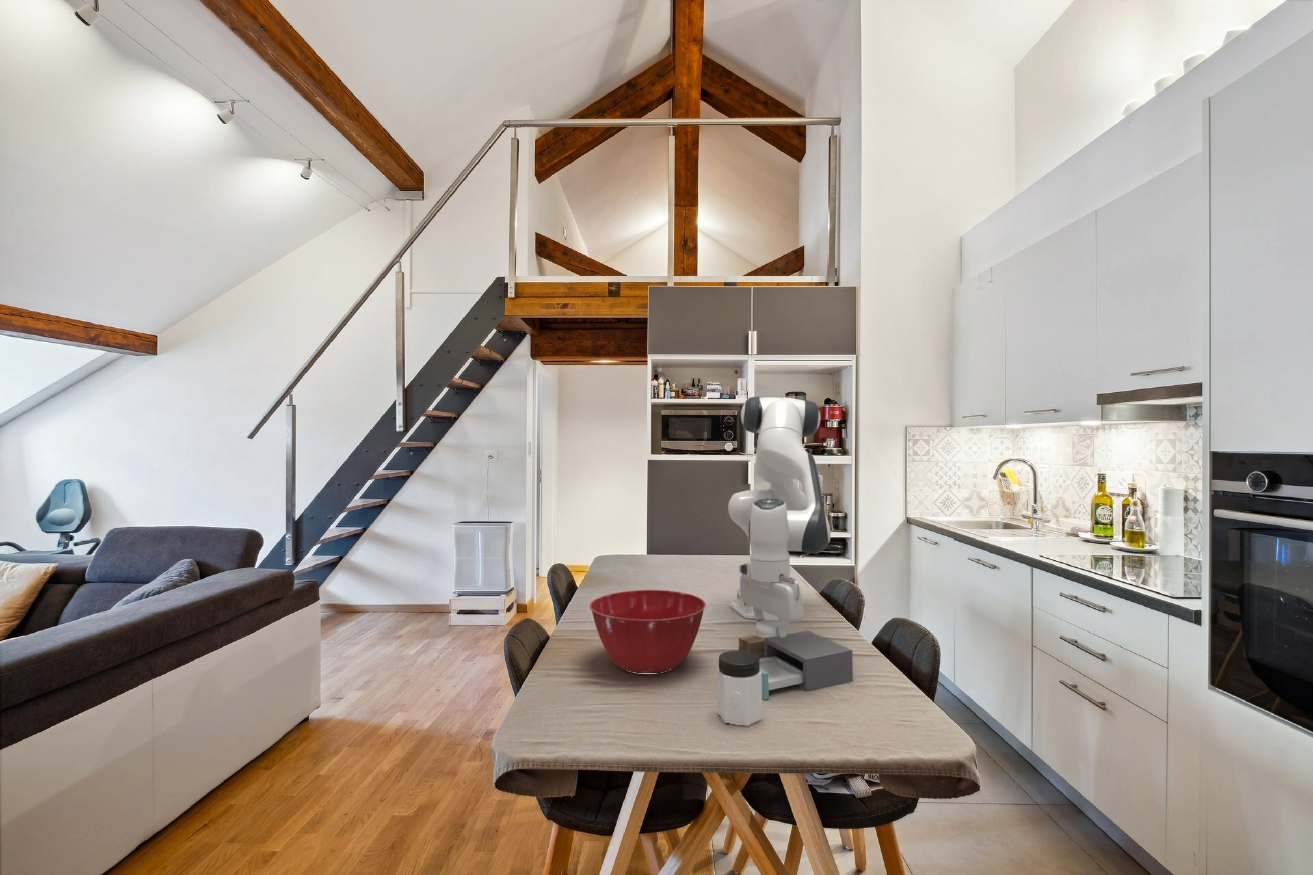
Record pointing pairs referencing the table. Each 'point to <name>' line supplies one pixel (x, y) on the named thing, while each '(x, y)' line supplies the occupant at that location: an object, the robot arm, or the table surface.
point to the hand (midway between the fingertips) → (771, 631)
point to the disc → (767, 627)
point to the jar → (739, 687)
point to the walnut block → (752, 645)
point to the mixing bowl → (647, 628)
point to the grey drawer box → (813, 658)
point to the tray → (778, 674)
